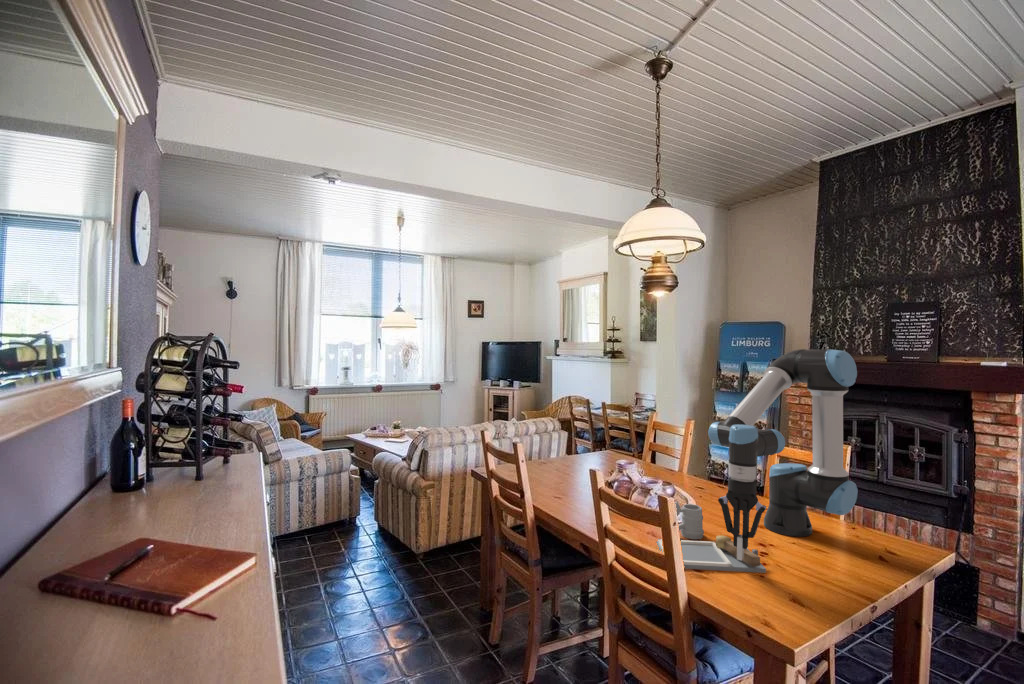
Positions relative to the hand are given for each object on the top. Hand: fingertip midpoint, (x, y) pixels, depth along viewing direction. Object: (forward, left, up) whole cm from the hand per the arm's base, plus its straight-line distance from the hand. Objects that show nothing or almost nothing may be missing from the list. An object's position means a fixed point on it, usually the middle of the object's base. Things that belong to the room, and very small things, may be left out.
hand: (740, 558), depth 141 cm
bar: (-1, -5, -1) cm, 6 cm away
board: (+7, -7, -3) cm, 11 cm away
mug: (+9, -24, -4) cm, 26 cm away
